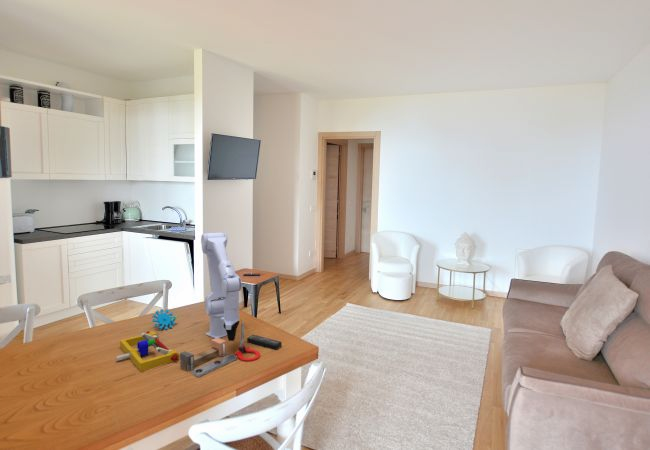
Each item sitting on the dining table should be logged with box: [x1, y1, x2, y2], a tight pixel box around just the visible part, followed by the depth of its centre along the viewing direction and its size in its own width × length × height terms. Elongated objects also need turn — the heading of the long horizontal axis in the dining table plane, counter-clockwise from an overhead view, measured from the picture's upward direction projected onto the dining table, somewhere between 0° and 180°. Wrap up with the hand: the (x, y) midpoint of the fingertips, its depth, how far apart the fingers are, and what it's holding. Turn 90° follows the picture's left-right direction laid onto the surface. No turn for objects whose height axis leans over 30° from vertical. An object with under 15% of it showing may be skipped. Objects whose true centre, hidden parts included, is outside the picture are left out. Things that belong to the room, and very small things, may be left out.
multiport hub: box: [246, 334, 282, 351], centre depth 162 cm, size 4×14×2 cm, turn 63°
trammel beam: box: [179, 348, 219, 372], centre depth 146 cm, size 17×6×5 cm, turn 144°
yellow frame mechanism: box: [115, 330, 180, 372], centre depth 151 cm, size 18×6×30 cm
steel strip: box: [191, 353, 238, 378], centre depth 143 cm, size 17×4×1 cm, turn 144°
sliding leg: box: [210, 338, 227, 358], centre depth 152 cm, size 3×6×5 cm, turn 54°
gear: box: [152, 308, 178, 331], centre depth 178 cm, size 11×6×10 cm
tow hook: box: [233, 321, 261, 363], centre depth 150 cm, size 8×13×9 cm
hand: (231, 340), depth 157 cm, fingers closed
